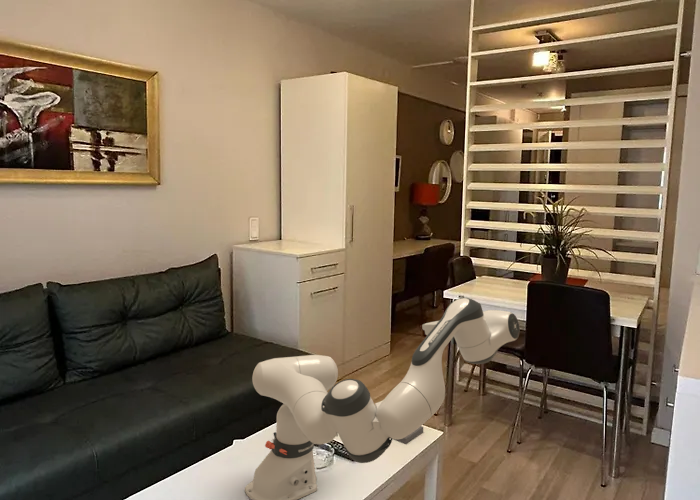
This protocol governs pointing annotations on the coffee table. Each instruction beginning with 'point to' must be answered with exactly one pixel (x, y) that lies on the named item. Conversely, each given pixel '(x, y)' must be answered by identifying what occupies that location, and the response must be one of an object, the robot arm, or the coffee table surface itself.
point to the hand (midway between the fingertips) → (434, 324)
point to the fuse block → (411, 436)
